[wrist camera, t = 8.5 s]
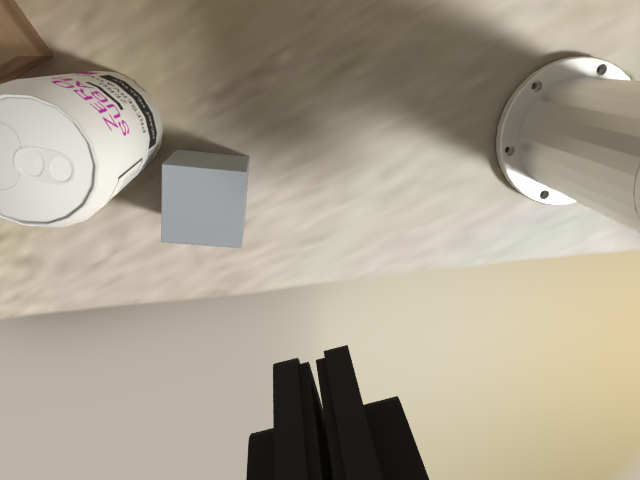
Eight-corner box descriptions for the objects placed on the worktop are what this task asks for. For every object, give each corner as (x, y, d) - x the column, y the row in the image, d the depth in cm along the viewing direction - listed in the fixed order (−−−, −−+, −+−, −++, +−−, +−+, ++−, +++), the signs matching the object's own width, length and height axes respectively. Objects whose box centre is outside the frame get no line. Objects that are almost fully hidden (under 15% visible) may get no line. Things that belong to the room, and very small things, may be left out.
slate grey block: (249, 156, 42) (246, 172, 36) (244, 223, 44) (241, 248, 38) (176, 149, 41) (162, 164, 36) (175, 217, 43) (161, 242, 38)
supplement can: (55, 162, 41) (-58, 221, 27) (62, 58, 38) (-59, 62, 24) (157, 183, 42) (101, 249, 28) (171, 84, 39) (116, 102, 25)
